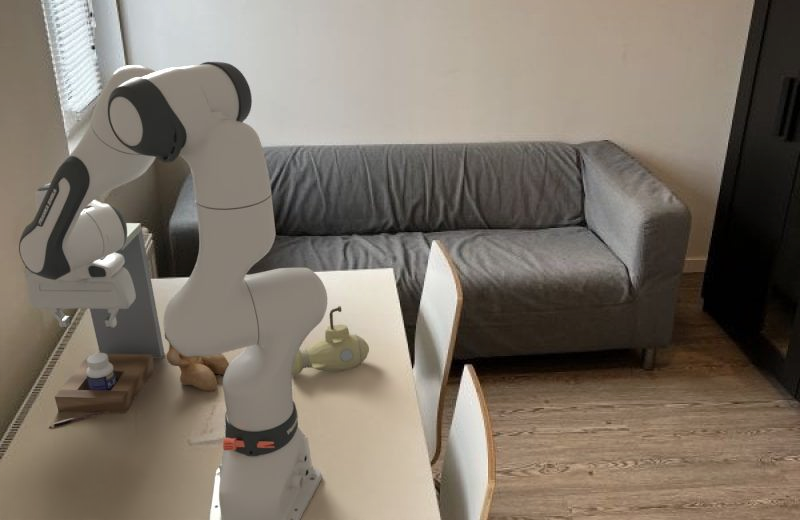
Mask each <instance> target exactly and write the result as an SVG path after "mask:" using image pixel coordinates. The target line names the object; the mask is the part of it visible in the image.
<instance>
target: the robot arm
mask: <svg viewBox="0 0 800 520" xmlns="http://www.w3.org/2000/svg"><path fill="white" fill-rule="evenodd" d="M102 88H103V89H102V90H101V93H100V95H99V97H98V98H97V101H96V104H95V107H94V108H93V109H94V110H93V112H92V116H91V119H90V121H89V124H88V127H87V128H86V131H84V134H83V135H82V138H81V139H80V140H79V142H78V143H77V145H76V146H75V148H74V149H73V151H71V153H70V154H69V155H68V156H67V158H66V159H65V160H64V161H63V162H62V163H61V165H60V166H59V167H58V169H57V170H56V172H55V174H54V175H53V178H52V180H51V181H50V182H49V183H46V184H43V185H41V186H39V188H38V189H36V192H35V199H34V200H35V202H34V203H35V210H36V214H35V217H34V218H33V220H32V221H31V222H30V223H28V224H27V225H26V226H25V228H24V229H23V231H22V233H21V235H20V238H19V244H18V253H19V256H20V259H21V261H22V263H23V265H24V266H25V267H24V268H23V274H24V278H25V280H26V287H27V298H28V302H29V304H30V305H31V306H32V307H33V308H34V309H49V311H50V314H51V315H52V316H53V317H54V318H55V319H56V320H57V321H58V324H59V327H60V328H69V326H70V325H71V324H72V320H71V316H70V315H66V314H65V313H64V311H63V310H64V309H66V310H67V309H69V310H71V309H75V310H76V309H80V310H81V309H87V310H88V309H89V310H90V309H108V313H111V316H108V317H107V319H106V320H105V323H106V327H115V326H116V325H117V321H116V315H117V313H118V311H119V309H127V308H129V307H130V305H131V304H132V303H133V302H134V300H135V298H136V294H135V289H134V285H133V282H132V279H131V276H130V274H129V272H128V270H127V269H125V268H124V267H122V266H123V265H124V263H125V259H124V256H123V255H121V254H118V253H115V252H116V251H118V250H120V249H122V248H123V247H124V245H125V243H126V239H127V225H126V223H127V222H126V219H125V217H124V215H123V212H122V211H121V210H120V209H118V208H117V207H115V206H114V205H112V204H110V203H108V202H100V201H99V200H97V199H98V198H100V197H102V196H103V195H105V194H107V193H109V192H111V191H113V190H115V189H116V188H119V187H121V186H124V185H126V184H127V183H128V184H129V183H130V182H131V181H134V180H136V179H138V178H139V177H141V176H143V174H145V173H146V172H147V171H148V169H149V168H150V167H151V165H152V164H153V163H154V162H155V160H156V159H158V160H159V161H161V162H163V163H166V164H167V163H168V164H171V163H172V162H175V160H176V159H177V158H178V156H179V157H181V158H182V159H184V161H185V162H186V163H187V165H188V166H189V169H190V172H191V177H192V183H193V193H194V200H195V208H196V215H197V222H198V225H197V227H198V236H199V237H198V240H199V243H198V244H199V246H198V255H197V258H196V262H195V265H194V268H193V270H192V272H191V274H190V275H189V277H188V279H187V281H185V284H183V286H182V287H181V289H179V291H178V292H176V293H175V294H174V295H173V296H172V297H171V299H170V300H169V301H168V303H167V305H166V308H165V310H164V314H163V330H164V335H165V334H166V337H167V339H168V341H169V342H170V344H171V345H172V346H173V348H174V349H175V350H177V351H178V352H179V353H180V354H182V355H184V356H186V357H193V356H210V355H218V354H224V353H225V354H226V353H230V352H233V351H236V350H239V349H240V350H241V349H243V348H245V349H244V350H242V352H240V353H239V354H238V355H237V356H235V358H233V359H232V361H231V362H230V363H229V365H228V367H227V369H226V371H225V374H224V375H223V377H222V390H223V396H224V403H225V409H226V412H225V415H224V434H223V435H222V437H223V441H222V443H223V444H222V456H221V463H220V464H219V466H218V468H217V469H216V470H215V475H214V476H215V477H214V482H213V487H212V488H213V490H212V495H211V501H210V502H211V503H210V508H209V509H210V510H209V516H208V520H301V518H302V516H303V514H304V513H305V511H306V509H307V507H308V505H309V503H310V502H311V500H312V497H313V496H314V494H315V492H316V490H317V489H318V487H319V485H320V482H321V481H322V478H323V475H322V471H321V470H320V469H319V468H317V467H316V466H314V465H313V462H312V456H311V450H310V449H311V448H310V445H309V439H308V436H307V435H306V434H304V433H303V432H302V430H301V429H300V427H298V425H299V422H298V420H299V419H298V418H299V416H298V410H297V408H296V407H297V406H296V404H295V402H294V400H293V399H294V398H293V384H292V383H293V375H292V368H293V363H294V360H295V357H296V355H297V352H298V350H300V348H301V346H302V345H303V343H304V342H305V340H306V338H307V337H308V336H309V335H310V334H311V332H312V331H313V330H314V329H315V328H316V327H317V326H318V325H319V324H320V323H321V322H322V321H323V319H324V317H325V316H326V312H327V308H328V293H327V289H326V286H325V284H324V282H323V280H322V279H321V278H320V277H319V275H317V273H316V272H314V271H313V270H311V269H310V268H309V267H281V268H274V269H271V270H266V271H261V272H257V273H252V274H247V273H248V272H249V271H250V269H251V268H252V267H253V266H254V265H256V264H257V263H258V262H260V261H261V260H262V259H263V258H264V257H265V256H266V255H267V254H268V253H269V252H270V250H271V249H272V247H273V245H274V242H275V238H276V227H275V224H276V223H275V215H274V207H273V206H274V205H273V197H272V196H273V195H272V187H271V186H272V185H271V180H270V175H269V169H268V166H267V160H266V157H265V152H264V149H263V146H262V145H263V144H262V143H261V140H260V136H259V135H258V132H256V130H255V129H254V128H253V127H252V126H251V125H250V124H247V123H245V122H244V121H245V120H247V118H248V116H249V115H250V112H251V111H252V110H251V109H252V105H253V103H252V102H253V100H252V97H253V96H252V92H251V88H250V85H249V83H248V81H247V78H246V77H245V75H244V74H243V72H241V71H240V69H238V68H237V67H236V66H234V65H233V64H230V63H227V62H223V61H206V62H202V63H200V64H194V65H193V64H192V65H185V66H184V65H183V66H178V67H177V66H173V67H168V68H164V69H161V70H158V71H156V70H154V69H153V68H149V67H147V66H143V65H137V64H132V65H130V64H129V65H125V66H122V67H119V68H117V70H115V71H114V72H112V74H111V75H110V77H109V79H108V80H107V82H106V83H105V84H104V86H103V87H102ZM62 309H63V310H62ZM167 339H166V340H167ZM168 341H167V342H168ZM169 342H168V343H169Z"/></svg>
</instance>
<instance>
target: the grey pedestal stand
mask: <svg viewBox="0 0 800 520" xmlns="http://www.w3.org/2000/svg"><path fill="white" fill-rule="evenodd" d="M126 225H127V239H126V243H125V245H124V247H123V248H122V249H120V250H118V251H116V252H115V253H118V254H121V255H123V256H124V259H125V263H124V265H123V266H122V267H124V268H125V269H127V270H128V272H129V274H130V276H131V279H132V282H133V285H134V289H135V294H136V298H135V300H134V302H133V303H132V304H131V305H130V307H129V308H127V309H119V311H118V313H117V315H116V321H117V325H116V326H115V327H106V323H105V320H106V319H107V317H108V316H111V313H108V309H89V312H90V315H91V320H92V324H93V325H92V326H93V329H94V333H95V338H96V342H97V346H98V351H99V352H98V353H105V354H146V355H152V356H153V359H162V358H163V356H164V355H165V349H164V343H163V339H162V333H161V332H162V331H161V328H160V322H159V317H158V310H157V306H156V300H155V293H154V289H153V283H152V278H151V272H150V267H149V261H148V257H147V251H146V245H145V240H144V235H143V229H142V223H141V222H140V223H139V222H138V223H137V222H136V223H135V222H126Z"/></svg>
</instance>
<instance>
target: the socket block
mask: <svg viewBox="0 0 800 520" xmlns="http://www.w3.org/2000/svg"><path fill="white" fill-rule="evenodd" d="M93 354H96V353H95V352H93V353H91V352H89V354H88V355H87V356H86V358H84V360H82V362H81V363H80V365H78V367H77V368H76V370H74V372H72V373H73V374H72V375H71V376H70V377H69V378H68V379H67V380H66V382H65V383H64V385H62V387H61V388H60V389H59V391H58V392H57V393H56V394H55V395H54V400H55V403H56V408H57V412H71V413H72V412H74V413H75V412H76V413H77V412H78V413H79V412H80V413H95V412H99V411H105V412H106V413H109V414H110V413H111V414H112V413H113V414H116V413H117V414H126V413H127V412H128V411H129V409H130V408H131V406H132V404H133V403H134V401H135V399H136V398H137V396H138V395H139V394H140V392H141V390H142V389H143V387H144V386H145V384H146V383H147V381H148V380H149V378H150V376H151V375H152V373H153V372H154V370H155V362H154V358H153V356H152V355H146V354H107V356H108V359H109V362H110V363H111V364H112V365H113V368H114V372H115V377H116V382H117V383H116V384H115V385H114V387H113V388H112V390H111V391H102V390H90V387H89V383H88V379H87V374H86V371H87V368H88V363H87V358H88V357H89V356H91V355H93Z"/></svg>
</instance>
